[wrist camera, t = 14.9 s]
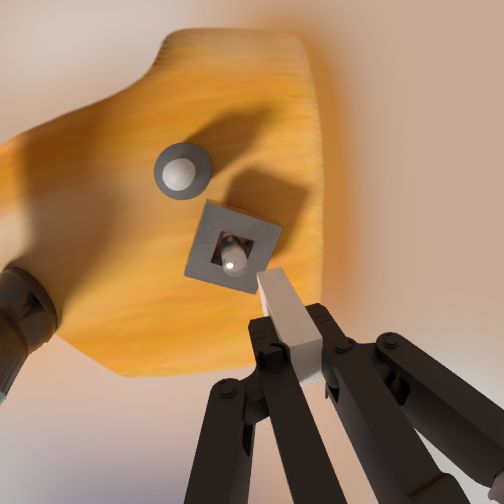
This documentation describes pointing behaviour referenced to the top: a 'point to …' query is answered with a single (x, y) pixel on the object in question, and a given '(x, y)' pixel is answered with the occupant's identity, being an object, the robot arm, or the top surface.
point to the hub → (232, 252)
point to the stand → (183, 171)
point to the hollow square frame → (236, 223)
